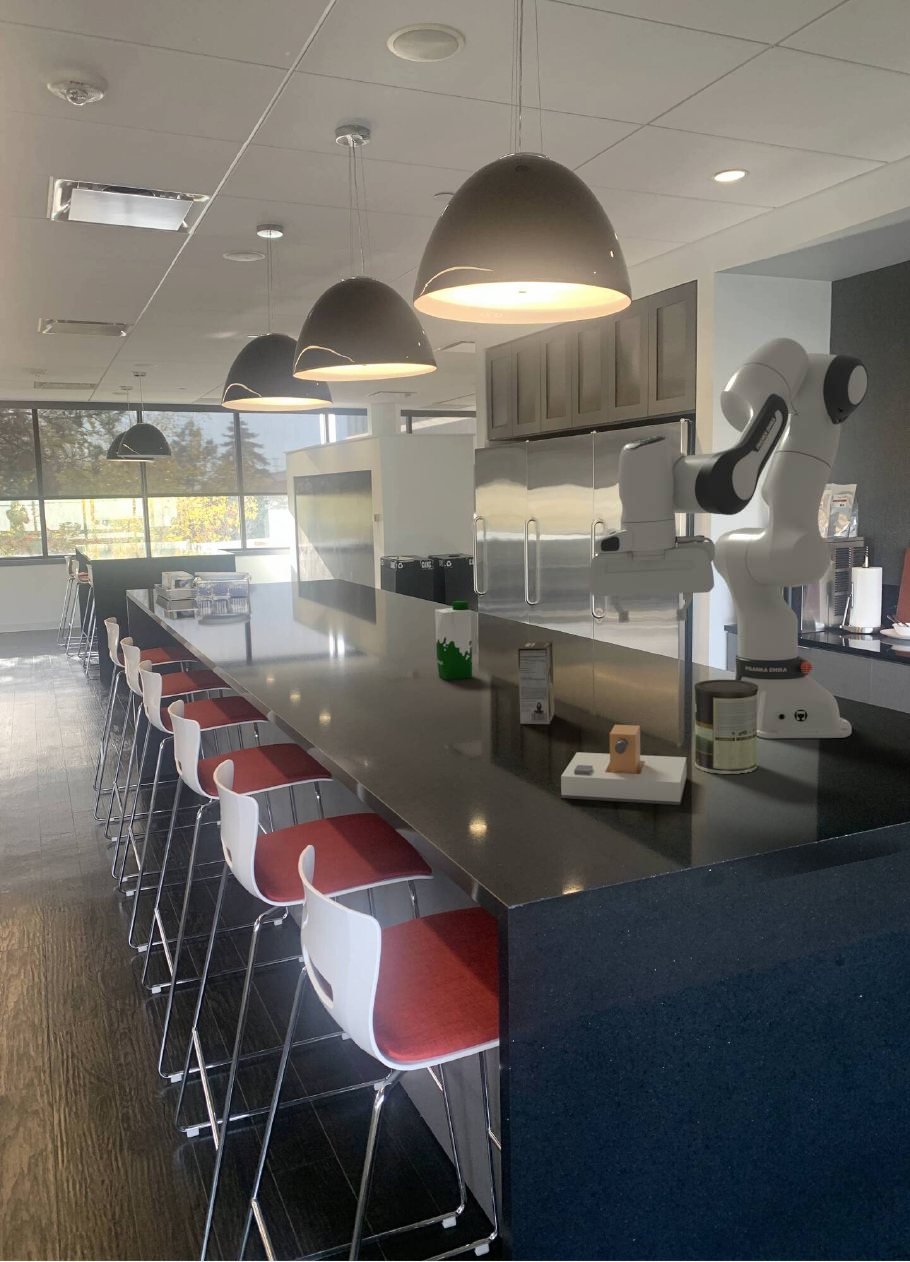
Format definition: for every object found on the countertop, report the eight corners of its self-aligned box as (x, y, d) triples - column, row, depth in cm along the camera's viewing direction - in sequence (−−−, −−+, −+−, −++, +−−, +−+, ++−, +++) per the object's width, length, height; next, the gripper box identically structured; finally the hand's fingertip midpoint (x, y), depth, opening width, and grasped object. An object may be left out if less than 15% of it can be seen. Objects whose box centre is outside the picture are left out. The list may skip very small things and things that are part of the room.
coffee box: (525, 714, 205) (523, 641, 202) (554, 714, 203) (553, 640, 201) (519, 724, 196) (517, 647, 194) (550, 724, 194) (548, 647, 192)
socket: (686, 778, 155) (686, 753, 154) (680, 805, 141) (680, 778, 141) (577, 772, 160) (576, 748, 160) (561, 797, 147) (560, 772, 146)
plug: (640, 779, 153) (640, 725, 152) (633, 797, 144) (633, 739, 143) (615, 778, 154) (614, 724, 153) (607, 795, 146) (606, 738, 144)
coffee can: (684, 769, 160) (683, 687, 158) (710, 755, 168) (710, 677, 166) (742, 778, 153) (743, 693, 151) (767, 763, 161) (767, 682, 159)
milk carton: (476, 678, 248) (473, 602, 245) (443, 681, 245) (440, 604, 242) (466, 672, 256) (463, 599, 253) (434, 675, 254) (431, 601, 251)
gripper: (715, 532, 155) (718, 616, 157) (590, 539, 161) (595, 619, 163) (713, 535, 149) (716, 622, 151) (584, 543, 155) (589, 626, 157)
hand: (652, 621), depth 157 cm, fingers open, 8 cm apart
